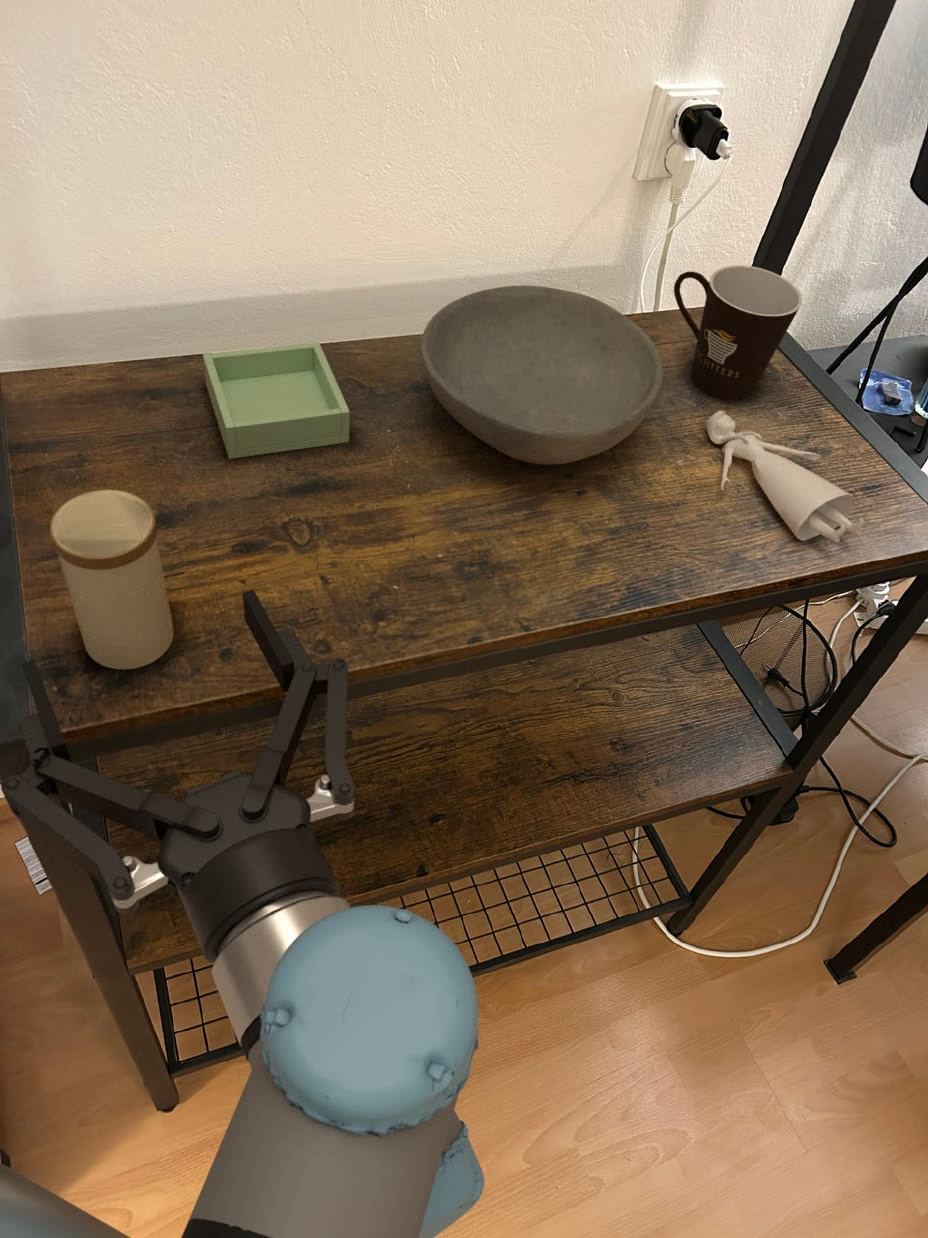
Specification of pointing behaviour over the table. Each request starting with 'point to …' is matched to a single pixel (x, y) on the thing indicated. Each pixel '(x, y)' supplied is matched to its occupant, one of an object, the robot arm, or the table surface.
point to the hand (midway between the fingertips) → (145, 638)
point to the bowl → (541, 371)
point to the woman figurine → (787, 483)
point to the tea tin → (114, 576)
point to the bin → (275, 399)
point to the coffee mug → (738, 327)
